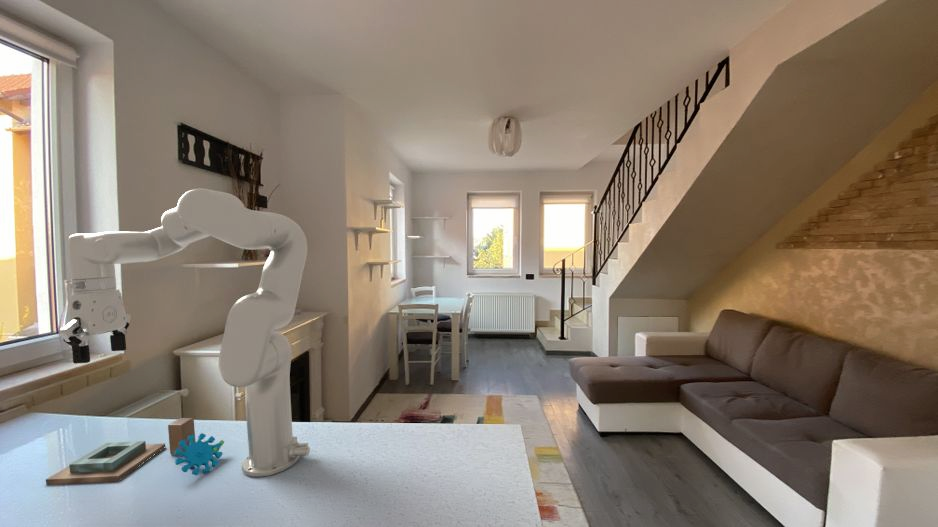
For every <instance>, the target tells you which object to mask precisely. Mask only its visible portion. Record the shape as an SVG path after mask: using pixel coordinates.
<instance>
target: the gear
mask: <svg viewBox="0 0 938 527" xmlns="http://www.w3.org/2000/svg"><path fill="white" fill-rule="evenodd" d="M206 436H207V434H205V433H203V432H202V433H200V434H199V436H198V438H197V441H196V442H194V441H193V439H194V438H195V439H196V434H195V435H189V437H188V438H187V439H188V440H189V443H190V444H189V446H187V445H186V440H185V439H184V440H182V441H180V442H179V444H178V445H179V446H181V447H182V448H183V449H184V450H185V452H183V451H182V450H181V448H177V449H176V451H175V452H174V455H173V456H178V457H177V458H176V459H175V461H174V462H175V463H174V464H175V465H177V466H178V465H181V464H183V463H185V464H184V465H183V466H182V467H181V468H180V469H181V471H182V472H183V473H186V472H188V470H190V468H192V467H195V468H194V469H193V470H192V471H191V474H192V475H194V476H197V475H198V474H199V473H201V472H200V471H201V466H204V468H203V470H202V473H204V474H208V473H210V471H211V467H212V468H216V467H217V466H218V465H219V464H220V461H219V459H220V458H221V457H222V456H223V452H222V451H220V449H221V448H222V446H223V445H224V444H225V440H223V439H221V440H220V441H219V442H217V443H215V444H213V442H215V441H216V439H215V437H214V436H212V435H211V436H209V438H208V439H207V440H206V441H205V440H204V439H205V438H206ZM202 440H204V441H202ZM179 456H181V457H179ZM182 457H183V458H182ZM215 458H216V459H215ZM210 462H211V467H210V465H209V463H210ZM186 463H187V464H186Z"/></svg>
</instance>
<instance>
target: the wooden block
mask: <svg viewBox="0 0 938 527" xmlns="http://www.w3.org/2000/svg"><path fill="white" fill-rule="evenodd" d="M167 430H168V444H169V454H170V455H171V454H174V452H175V451H176V449H177V448H181V450H182V451H183V452H185V450H184V449H183V448H182V447H181V446H179V445H178V444H179V442H180V441H182V440H184V439H185V440H186V445H187V446H189V444H190V443H189V440H188V439H187V438H188V437H189V435H195V436H196V432H195V419H194V417H180V418H177V419H176V420H174V421H172V422H171V423H169V424H168V425H167ZM193 441H194V442H197V441H196V437H195V438H194V439H193Z"/></svg>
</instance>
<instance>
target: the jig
mask: <svg viewBox="0 0 938 527" xmlns="http://www.w3.org/2000/svg"><path fill="white" fill-rule="evenodd" d="M164 447H165V448H166V443H148V444H147V443H146V440H141V441H140V440H139V441H115V442H114V441H113V442H105V443H104V444H102V445H100V446H99V447H96V448H95V449H94V450H92V451H90V452H87V454H85V455H83V456H82V457H79V458H78V459H76V460H75V461H73V462H71V463H70V464H69V465H68V466H67V467H64V468H63V469H61V470H60V471H58V472H56V473H55V474H52V475H51V476H49V477H47V478H46V479H45V485H64V484H65V485H66V484H67V485H69V484H85V483H87V482H88V483H89V482H90V483H107V482H110V481H111V482H120V481H121V480H122V479H121V478H123V477H124V476H125V477H126V475H127V474H128V475H130V474H131V473H132V472H134V471H135V470H136V468H137V467H138V466H139V465H141V464H142V463H143V462H145V461H146V460H147V459H149V458H150V457H152V456H153V455H154V454H156V453H157V452H159V451H160V450H162V449H163V448H164ZM163 450H164V449H163ZM163 450H162V451H163ZM160 452H161V451H160ZM160 452H159V453H160ZM156 455H157V454H156ZM153 457H154V456H153ZM153 457H152V458H153ZM149 460H150V459H149ZM146 462H147V461H146ZM146 462H145V463H146ZM142 465H143V464H142ZM142 465H141V466H142ZM139 467H140V466H139ZM139 467H138V468H139ZM138 468H137V469H138ZM134 469H135V470H134ZM133 470H134V471H133ZM131 471H132V472H131ZM130 472H131V473H130ZM129 473H130V474H129ZM128 475H127V476H128ZM125 477H124V478H125ZM124 478H123V479H124ZM120 479H121V480H120ZM119 480H120V481H119ZM88 483H87V484H88Z"/></svg>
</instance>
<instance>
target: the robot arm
mask: <svg viewBox="0 0 938 527" xmlns="http://www.w3.org/2000/svg"><path fill="white" fill-rule="evenodd" d="M160 220H161V221H160V223H161V226H160V227H156V228H154V229H151V230H147V231H119V230H118V231H117V230H116V231H115V230H114V231H104V232H96V233H91V232H90V233H74V234H71V235H70V236H69V237H68V239H67V248H68V257H69V267H70V269H69V270H70V278H71V279H70V280H71V284H70V289H71V290H72V293H71V294H70V301H69V314H68V315H69V322H68V323H67V324H66V325H64V326H63V327H61V328H60V330H59V331H58V333H59V334H60V336H61V338H62V341H63V342H65V343H66V344H67V345H68V347H69V348H71V352H72V353H71V354H72V362H73V364H75V365H77V364H87V363H88V364H89V363H90V361H91V355H90V354H91V353H90V346H89V344H88V345H87V343H88V341H89V339H90V338H91V336H99V335H102V334H106V333H111V335H110V336H109V340H110V349H111V351H112V352H123V351H126V350H127V342H126V341H127V340H126V334H127V333H128V328H129V326H130V321H131V318H132V314H129V313H126V310H125V305H124V299H123V296H122V293H121V291H120V289H119V288H117V278H116V266H115V265H119V264H120V265H121V264H123V265H124V264H131V263H133V264H134V263H148V262H153V261H157V260H160V259H162V258H165V257H168V256H171V255H175V254H177V253H179V252H181V251H182V250H184V249H186V248H187V246H189V245H190V244H192V243H195V242H198V241H200V240H203V239H205V238H208V237H209V238H210V237H212V238H215V239H218V240H219V241H222V242H224V243H225V244H229V245H231V246H234V247H236V248H239V249H243V250H252V251H253V250H269V251H270V253H269V256H268V257H267V258H266V261H265V263H264V266H263V268H262V270H261V276H260V281H259V285H258V288H257V290H256V292H253V293H249V294H246V295H244V296H242V297H241V298H239V299H238V300H236V302H235V303H234V304H233V305H232V307H231V308H230V310H229V312H228V314H227V318H226V322H225V325H224V326H225V328H224V330H223V331H224V332H223V337H222V341H221V346H220V351H219V355H218V372H219V374H220V377H221V379H222V380H223V381H224V383H226V384H227V385H229V386H231V387H235V388H245V390H244V391H245V392H244V398H245V416H246V430H247V432H246V433H247V443H248V445H247V446H248V456H247V457H245V458H244V460H243V461H242V464H241V469H242V473H244V474H245V475H246V476H249V477H257V478H259V477H268V476H272V475H275V474H278V473H281V472H283V471H285V470H287V469H289V468H291V467H292V466H293V465H295V463H297V462H298V461H299V459H300V457H304V456H305V457H308V456H309V455H310V451H311V450H310V449H311V448H310V446H309V442H298V436H293V435H294V434H293V421H292V403H291V385H290V384H291V381H290V380H291V379H290V378H291V377H290V373H291V362H292V347H291V346H292V345H291V343H290V341H289V340H288V337H287V336H285V335H284V334H283V333H281V332H279V331H277V330H280V329H282V328H284V327H285V326H287V325H288V324H290V322H291V321H292V320H293V318H294V315H295V312H296V307H297V302H298V298H299V292H300V287H301V282H302V277H303V273H304V270H305V264H306V261H307V256H308V241H307V237H306V235H305V234H306V233H304V231H303V229H302V228H301V227H300V225H299V224H298V223H297V222H296V221H294V220H293V219H291V217H288V216H286V215H284V214H280V213H276V212H270V211H261V210H254V209H253V210H252V209H250V208H247V207H245V205H244V203H243V201H241V200H240V198H239V197H237V196H235V195H233V194H231V193H228V192H225V191H220V190H219V191H218V190H213V189H209V188H193V189H190V190H188V191H186V192H185V193H184V194H182V195H181V197H180V198H179V199H178V202H177V206H176V207H174V208H171V209H169V210H166V211H165V212H163V214H162V216H161V218H160Z"/></svg>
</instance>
